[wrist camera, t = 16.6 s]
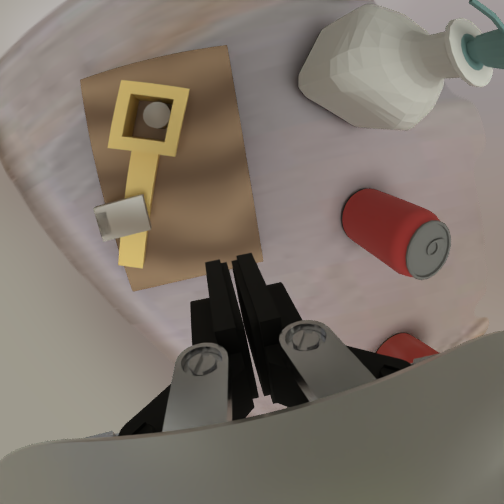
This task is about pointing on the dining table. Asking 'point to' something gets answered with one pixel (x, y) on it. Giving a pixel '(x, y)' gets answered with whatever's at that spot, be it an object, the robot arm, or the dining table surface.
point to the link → (144, 150)
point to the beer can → (397, 233)
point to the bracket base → (177, 169)
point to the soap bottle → (395, 65)
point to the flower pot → (405, 348)
